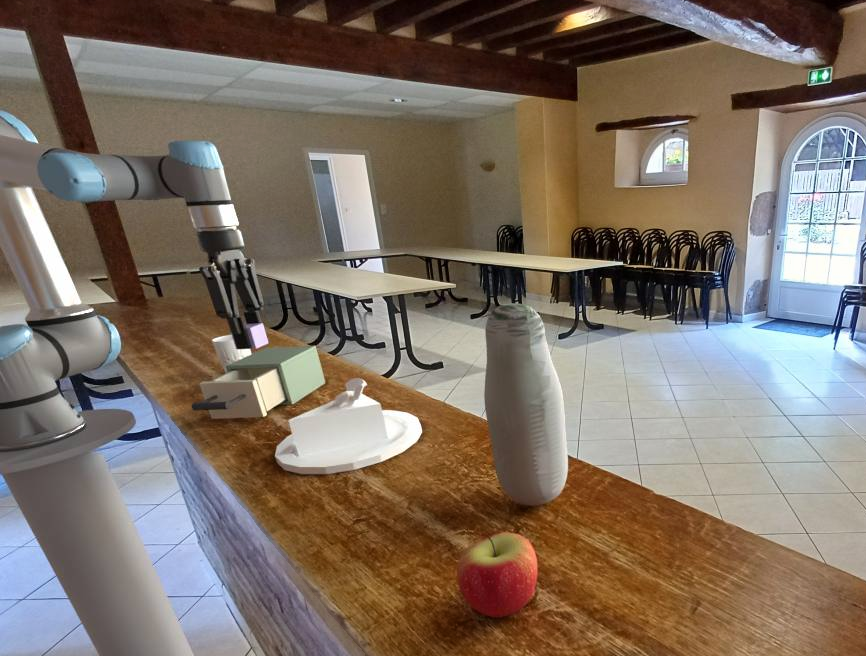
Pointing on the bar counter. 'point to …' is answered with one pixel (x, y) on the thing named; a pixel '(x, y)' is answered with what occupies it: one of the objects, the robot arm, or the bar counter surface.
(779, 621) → the bar counter surface
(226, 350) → the white cup
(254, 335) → the purple cube
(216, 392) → the drawer
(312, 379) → the cabinet
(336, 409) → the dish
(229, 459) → the bar counter surface
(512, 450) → the grey rounded column
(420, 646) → the bar counter surface
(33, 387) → the robot arm
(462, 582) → the apple
